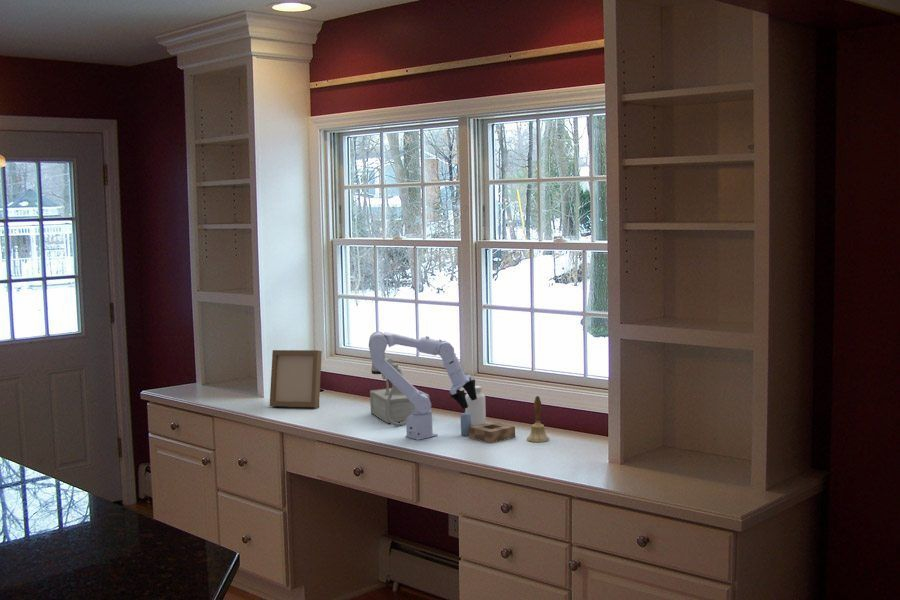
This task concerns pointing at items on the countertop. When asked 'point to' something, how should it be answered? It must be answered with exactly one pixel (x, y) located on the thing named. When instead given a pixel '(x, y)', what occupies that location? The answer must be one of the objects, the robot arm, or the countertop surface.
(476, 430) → the socket block
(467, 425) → the peg
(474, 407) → the pill bottle
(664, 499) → the countertop surface
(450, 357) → the robot arm
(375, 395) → the grey machine
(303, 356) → the photo frame
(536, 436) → the hand bell
